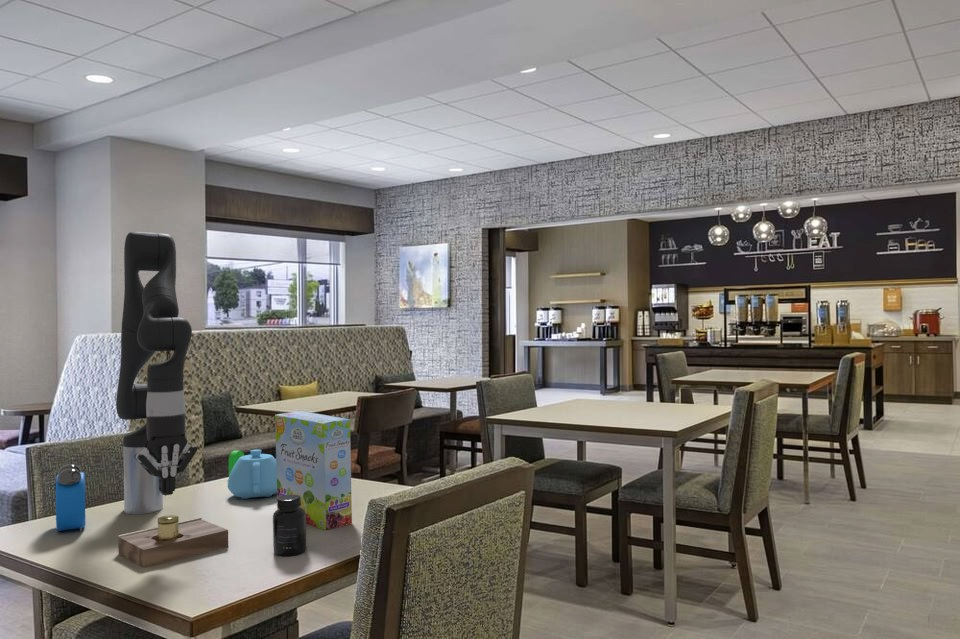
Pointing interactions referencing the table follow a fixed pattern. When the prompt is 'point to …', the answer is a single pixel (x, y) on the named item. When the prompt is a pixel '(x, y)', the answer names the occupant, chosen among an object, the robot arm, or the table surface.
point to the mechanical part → (234, 459)
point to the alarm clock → (70, 498)
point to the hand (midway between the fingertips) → (167, 494)
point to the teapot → (254, 476)
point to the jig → (172, 543)
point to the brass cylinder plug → (168, 528)
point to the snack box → (315, 465)
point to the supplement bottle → (289, 527)
